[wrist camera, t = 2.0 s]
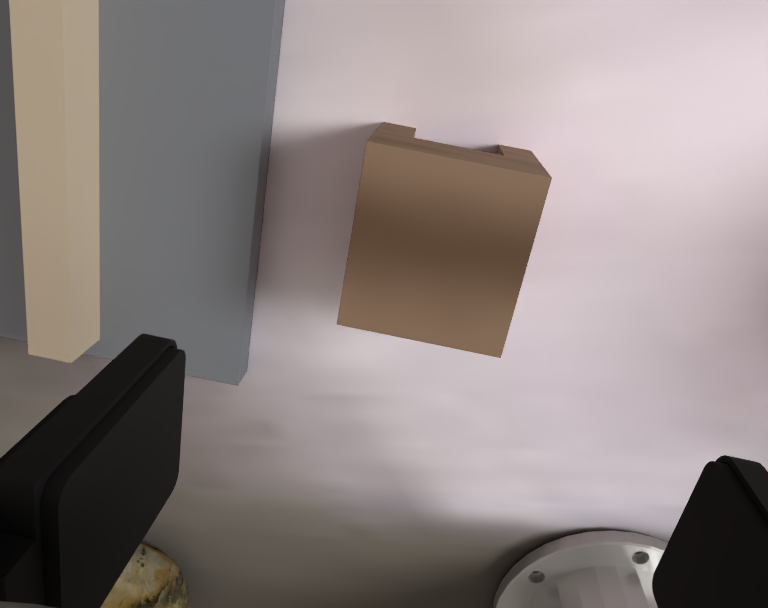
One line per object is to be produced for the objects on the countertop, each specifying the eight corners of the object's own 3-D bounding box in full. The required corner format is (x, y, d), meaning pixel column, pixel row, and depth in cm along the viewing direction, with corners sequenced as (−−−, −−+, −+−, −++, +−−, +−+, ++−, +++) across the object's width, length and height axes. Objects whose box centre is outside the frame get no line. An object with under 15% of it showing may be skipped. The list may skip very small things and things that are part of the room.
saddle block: (491, 299, 29) (500, 357, 24) (358, 272, 30) (336, 324, 24) (531, 150, 27) (551, 177, 21) (384, 122, 27) (366, 141, 21)
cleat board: (246, 371, 32) (220, 412, 28) (-53, 309, 32) (-118, 342, 29) (292, -72, 24) (264, -93, 21) (-103, -147, 25) (-200, -181, 21)
